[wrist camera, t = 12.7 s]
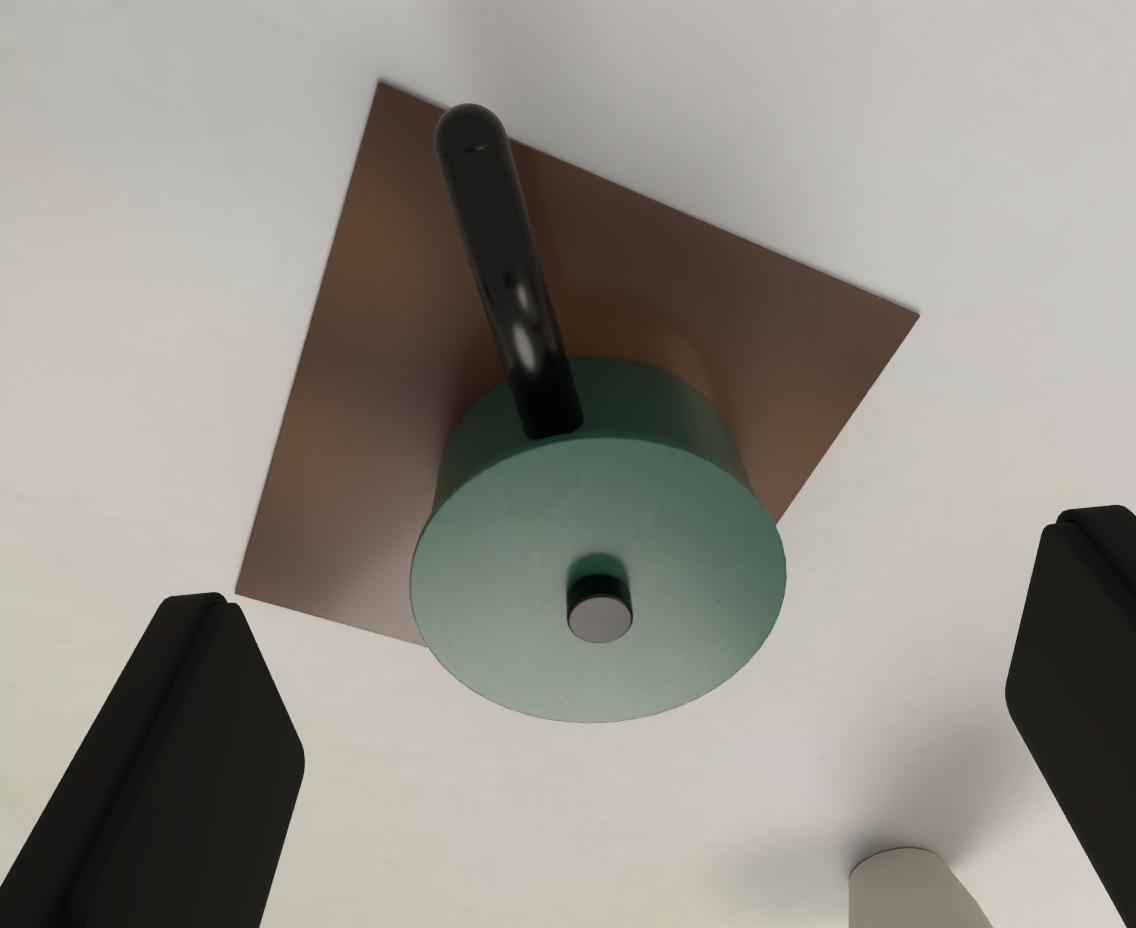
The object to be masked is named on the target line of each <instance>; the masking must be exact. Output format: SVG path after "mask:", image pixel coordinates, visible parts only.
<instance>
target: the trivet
mask: <svg viewBox="0 0 1136 928" xmlns="http://www.w3.org/2000/svg"><path fill="white" fill-rule="evenodd" d="M445 112H446V110H444V109H442V108H440V107H437V106H435V105H433V104H430V103H428V102H426V101H423V100H421V99H419V98H416V97H414V96H412V95H409V94H407V93H405V92H402V91H400V90H398V89H395V88H393V87H391V86H388V85H386V84H384V83H382V82H379V83H378V87H377V90H376V94H375V97H374V101H373V104H372V108H371V111H370V115H369V119H368V122H367V126H366V129H365V133H364V136H363V140H362V143H361V147H360V151H359V154H358V158H357V161H356V165H355V168H354V172H353V175H352V179H351V183H350V186H349V190H348V193H347V197H346V200H345V204H344V207H343V211H342V215H341V218H340V222H339V225H338V229H337V232H336V236H335V239H334V243H333V246H332V250H331V254H330V257H329V261H328V264H327V268H326V271H325V275H324V278H323V282H322V286H321V289H320V293H319V296H318V300H317V303H316V307H315V310H314V314H313V318H312V321H311V325H310V328H309V332H308V335H307V339H306V342H305V346H304V350H303V353H302V357H301V360H300V364H299V367H298V371H297V374H296V378H295V381H294V385H293V389H292V392H291V396H290V399H289V403H288V406H287V410H286V413H285V417H284V421H283V424H282V428H281V431H280V435H279V438H278V442H277V445H276V449H275V453H274V456H273V460H272V463H271V467H270V470H269V474H268V477H267V481H266V485H265V488H264V492H263V495H262V499H261V502H260V506H259V509H258V513H257V516H256V520H255V524H254V527H253V531H252V534H251V538H250V541H249V545H248V548H247V552H246V556H245V559H244V563H243V566H242V570H241V573H240V577H239V580H238V584H237V588H236V591H235V594H237V595H241V596H244V597H248V598H251V599H255V600H259V601H262V602H266V603H270V604H273V605H277V606H280V607H284V608H288V609H291V610H295V611H299V612H302V613H306V614H309V615H313V616H317V617H320V618H324V619H327V620H331V621H335V622H338V623H342V624H346V625H349V626H353V627H356V628H360V629H364V630H367V631H371V632H374V633H378V634H382V635H385V636H389V637H393V638H396V639H400V640H403V641H407V642H411V643H414V644H418V645H421V646H425V647H428V646H427V644H426V642H425V641H424V639H423V637H422V635H421V634H420V631H419V629H418V626H417V623H416V621H415V618H414V615H413V611H412V606H411V600H410V582H409V578H410V571H411V565H412V558H413V553H414V550H415V547H416V544H417V541H418V538H419V535H420V533H421V531H422V529H423V527H424V525H425V523H426V521H427V520H428V518H429V516H430V514H431V511H432V506H433V500H434V495H435V490H436V484H437V479H438V473H439V468H440V463H441V459H442V456H443V453H444V450H445V447H446V444H447V442H448V440H449V438H450V436H451V434H452V432H453V430H454V428H455V427H456V426H457V424H458V423H459V421H460V420H461V419H462V417H463V416H464V415H465V413H466V412H467V411H468V410H469V409H470V408H471V407H472V406H473V405H474V404H475V403H476V402H477V401H478V400H479V399H480V398H481V397H482V396H484V395H485V394H486V393H488V392H489V391H490V390H491V389H493V388H494V387H495V386H497V385H499V384H500V383H502V382H504V381H505V380H507V378H506V375H505V372H504V369H503V366H502V363H501V360H500V357H499V353H498V350H497V347H496V344H495V341H494V338H493V335H492V332H491V329H490V326H489V323H488V319H487V316H486V313H485V310H484V307H483V304H482V301H481V298H480V295H479V292H478V288H477V285H476V282H475V279H474V276H473V273H472V270H471V267H470V264H469V261H468V258H467V254H466V251H465V248H464V245H463V242H462V239H461V236H460V233H459V230H458V227H457V223H456V220H455V217H454V214H453V211H452V208H451V205H450V202H449V199H448V196H447V193H446V189H445V186H444V183H443V180H442V177H441V174H440V171H439V168H438V165H437V162H436V158H435V155H434V151H433V141H432V139H433V133H434V129H435V126H436V124H437V122H438V120H439V119H440V117H441V116H442V115H443V114H444V113H445ZM507 138H508V142H509V145H510V149H511V153H512V156H513V160H514V163H515V167H516V171H517V174H518V178H519V182H520V185H521V189H522V193H523V196H524V200H525V204H526V207H527V211H528V214H529V218H530V222H531V225H532V229H533V233H534V236H535V240H536V244H537V247H538V251H539V255H540V258H541V262H542V265H543V269H544V273H545V276H546V280H547V284H548V287H549V291H550V295H551V298H552V302H553V306H554V309H555V313H556V316H557V320H558V324H559V327H560V331H561V335H562V338H563V342H564V346H565V349H566V353H567V357H568V359H571V358H584V357H605V358H618V359H624V360H629V361H634V362H639V363H642V364H645V365H648V366H652V367H655V368H658V369H660V370H662V371H664V372H667V373H669V374H671V375H673V376H675V377H677V378H679V379H680V380H682V381H683V382H685V383H687V384H688V385H690V386H691V387H693V388H694V389H695V390H697V391H698V392H699V393H700V394H701V395H702V396H704V397H705V398H706V399H707V400H708V401H709V402H710V403H711V404H712V405H713V407H714V408H715V409H716V410H717V411H718V412H719V414H720V415H721V416H722V418H723V420H724V421H725V423H726V424H727V426H728V428H729V429H730V431H731V434H732V436H733V438H734V441H735V443H736V445H737V448H738V451H739V454H740V457H741V459H742V462H743V465H744V468H745V470H746V473H747V476H748V479H749V482H750V484H751V487H752V490H753V491H754V492H755V493H756V494H757V495H758V496H759V497H760V499H761V500H762V502H763V503H764V505H765V507H766V508H767V510H768V511H769V513H770V514H771V516H772V518H773V521H774V523H775V526H776V524H777V523H778V521H779V520H780V518H781V517H782V515H783V514H784V513H785V511H786V510H787V508H788V507H789V505H790V504H791V502H792V501H793V500H794V498H795V497H796V495H797V494H798V492H799V491H800V489H801V488H802V487H803V485H804V484H805V482H806V481H807V479H808V478H809V476H810V475H811V473H812V472H813V471H814V469H815V468H816V466H817V465H818V463H819V462H820V460H821V459H822V458H823V456H824V455H825V453H826V452H827V450H828V449H829V447H830V446H831V445H832V443H833V442H834V440H835V439H836V437H837V436H838V434H839V433H840V431H841V430H842V429H843V427H844V426H845V424H846V423H847V421H848V420H849V418H850V417H851V416H852V414H853V413H854V411H855V410H856V408H857V407H858V405H859V404H860V403H861V401H862V400H863V398H864V397H865V395H866V394H867V392H868V391H869V389H870V388H871V387H872V385H873V384H874V382H875V381H876V379H877V378H878V376H879V375H880V374H881V372H882V371H883V369H884V368H885V366H886V365H887V363H888V362H889V361H890V359H891V358H892V356H893V355H894V353H895V352H896V350H897V349H898V347H899V346H900V345H901V343H902V342H903V340H904V339H905V337H906V336H907V334H908V333H909V332H910V330H911V329H912V327H913V326H914V324H915V323H916V321H917V320H918V319H919V317H920V315H919V314H917V313H915V312H913V311H910V310H908V309H906V308H904V307H901V306H899V305H897V304H894V303H892V302H890V301H887V300H885V299H883V298H880V297H878V296H876V295H873V294H871V293H869V292H866V291H864V290H862V289H859V288H857V287H855V286H852V285H850V284H848V283H846V282H843V281H841V280H839V279H836V278H834V277H832V276H829V275H827V274H825V273H822V272H820V271H818V270H815V269H813V268H811V267H808V266H806V265H804V264H801V263H799V262H797V261H794V260H792V259H790V258H788V257H785V256H783V255H781V254H778V253H776V252H774V251H771V250H769V249H767V248H764V247H762V246H760V245H757V244H755V243H753V242H750V241H748V240H746V239H743V238H741V237H739V236H736V235H734V234H732V233H730V232H727V231H725V230H723V229H720V228H718V227H716V226H713V225H711V224H709V223H706V222H704V221H702V220H699V219H697V218H695V217H692V216H690V215H688V214H685V213H683V212H681V211H678V210H676V209H674V208H672V207H669V206H667V205H665V204H662V203H660V202H658V201H655V200H653V199H651V198H648V197H646V196H644V195H641V194H639V193H637V192H634V191H632V190H630V189H627V188H625V187H623V186H620V185H618V184H616V183H614V182H611V181H609V180H607V179H604V178H602V177H600V176H597V175H595V174H593V173H590V172H588V171H586V170H583V169H581V168H579V167H576V166H574V165H572V164H569V163H567V162H565V161H562V160H560V159H558V158H556V157H553V156H551V155H549V154H546V153H544V152H542V151H539V150H537V149H535V148H532V147H530V146H528V145H525V144H523V143H521V142H518V141H516V140H514V139H511V138H509V137H507Z"/></svg>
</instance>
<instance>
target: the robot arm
mask: <svg viewBox="0 0 1136 928" xmlns="http://www.w3.org/2000/svg"><path fill="white" fill-rule="evenodd" d="M1005 698H1006V703H1007V707H1008V710H1009V713H1010V716H1011V718H1012V720H1013V722H1014V724H1015V725H1016V727H1017V729H1018V731H1019V733H1020V734H1021V736H1022V738H1023V740H1024V742H1025V743H1026V745H1027V747H1028V749H1029V751H1030V753H1031V754H1032V756H1033V758H1034V760H1035V762H1036V763H1037V765H1038V767H1039V769H1040V771H1041V773H1042V774H1043V776H1044V778H1045V780H1046V782H1047V783H1048V785H1049V787H1050V789H1051V791H1052V793H1053V794H1054V796H1055V798H1056V800H1057V802H1058V803H1059V805H1060V807H1061V809H1062V811H1063V813H1064V814H1065V816H1066V818H1067V820H1068V822H1069V823H1070V825H1071V827H1072V829H1073V831H1074V833H1075V834H1076V836H1077V838H1078V840H1079V842H1080V843H1081V845H1082V847H1083V849H1084V851H1085V853H1086V854H1087V856H1088V858H1089V860H1090V862H1091V863H1092V865H1093V867H1094V869H1095V871H1096V873H1097V874H1098V876H1099V878H1100V880H1101V882H1102V883H1103V885H1104V887H1105V889H1106V891H1107V893H1108V894H1109V896H1110V898H1111V900H1112V902H1113V903H1114V905H1115V907H1116V909H1117V911H1118V912H1119V914H1120V916H1121V918H1122V920H1123V922H1124V923H1125V925H1126V927H1127V928H1136V516H1135V515H1134V514H1133V513H1132V512H1131V511H1130V510H1128V509H1127V508H1126V507H1124V506H1120V505H1110V506H1100V507H1090V508H1079V509H1069V510H1065V511H1063V512H1062V513H1061V514H1060V515H1059V516H1058V519H1057V521H1056V524H1050V525H1047V526H1046V527H1045V528H1044V529H1043V532H1042V535H1041V539H1040V543H1039V547H1038V551H1037V555H1036V560H1035V564H1034V568H1033V572H1032V576H1031V581H1030V585H1029V589H1028V593H1027V597H1026V602H1025V606H1024V610H1023V614H1022V618H1021V623H1020V627H1019V631H1018V635H1017V639H1016V643H1015V648H1014V652H1013V656H1012V660H1011V664H1010V669H1009V673H1008V677H1007V681H1006V687H1005ZM304 767H305V756H304V750H303V747H302V744H301V741H300V739H299V737H298V735H297V732H296V730H295V728H294V726H293V724H292V721H291V719H290V717H289V715H288V712H287V710H286V708H285V706H284V703H283V701H282V699H281V697H280V694H279V692H278V690H277V688H276V685H275V683H274V681H273V679H272V677H271V674H270V672H269V670H268V668H267V665H266V663H265V661H264V659H263V656H262V654H261V652H260V650H259V647H258V645H257V643H256V641H255V638H254V636H253V634H252V632H251V630H250V627H249V625H248V623H247V621H246V618H245V616H244V614H243V612H242V610H241V608H240V606H239V605H237V604H236V603H227V601H226V599H225V598H224V596H222V595H221V594H220V593H216V592H211V593H200V594H190V595H180V596H170V597H168V598H166V599H164V601H163V602H162V603H161V605H160V606H159V608H158V609H157V611H156V613H155V615H154V616H153V618H152V620H151V622H150V623H149V625H148V627H147V629H146V631H145V632H144V634H143V636H142V638H141V639H140V641H139V643H138V645H137V646H136V648H135V650H134V652H133V653H132V655H131V657H130V659H129V661H128V662H127V664H126V666H125V668H124V669H123V671H122V673H121V675H120V676H119V678H118V680H117V682H116V684H115V685H114V687H113V689H112V691H111V692H110V694H109V696H108V698H107V699H106V701H105V703H104V705H103V707H102V708H101V710H100V712H99V714H98V715H97V717H96V719H95V721H94V722H93V724H92V726H91V728H90V729H89V731H88V733H87V735H86V736H85V738H84V740H83V742H82V743H81V745H80V747H79V749H78V751H77V752H76V754H75V756H74V758H73V759H72V761H71V763H70V765H69V766H68V768H67V770H66V772H65V773H64V775H63V777H62V779H61V781H60V782H59V784H58V786H57V788H56V789H55V791H54V793H53V795H52V796H51V798H50V800H49V802H48V804H47V805H46V807H45V809H44V811H43V812H42V814H41V816H40V818H39V819H38V821H37V823H36V825H35V826H34V828H33V830H32V832H31V834H30V835H29V837H28V839H27V841H26V842H25V844H24V846H23V848H22V849H21V851H20V853H19V855H18V857H17V858H16V860H15V862H14V864H13V865H12V867H11V869H10V871H9V872H8V874H7V876H6V878H5V880H4V881H3V883H2V885H1V887H0V928H259V926H260V923H261V919H262V916H263V913H264V909H265V906H266V902H267V899H268V895H269V892H270V889H271V885H272V882H273V878H274V875H275V871H276V868H277V865H278V861H279V858H280V854H281V851H282V848H283V844H284V841H285V837H286V834H287V830H288V827H289V824H290V820H291V817H292V813H293V810H294V806H295V803H296V800H297V796H298V793H299V789H300V786H301V783H302V779H303V775H304Z"/></svg>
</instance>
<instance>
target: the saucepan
mask: <svg viewBox="0 0 1136 928" xmlns="http://www.w3.org/2000/svg"><path fill="white" fill-rule="evenodd" d="M432 141H433V151H434V155H435V158H436V162H437V165H438V168H439V171H440V174H441V177H442V180H443V183H444V186H445V189H446V193H447V196H448V199H449V202H450V205H451V208H452V211H453V214H454V217H455V220H456V223H457V227H458V230H459V233H460V236H461V239H462V242H463V245H464V248H465V251H466V254H467V258H468V261H469V264H470V267H471V270H472V273H473V276H474V279H475V282H476V285H477V288H478V292H479V295H480V298H481V301H482V304H483V307H484V310H485V313H486V316H487V319H488V323H489V326H490V329H491V332H492V335H493V338H494V341H495V344H496V347H497V350H498V353H499V357H500V360H501V363H502V366H503V369H504V372H505V375H506V378H507V380H505V381H504V382H502V383H500V384H499V385H497V386H495V387H494V388H493V389H491V390H490V391H489V392H488V393H486V394H485V395H484V396H482V397H481V398H480V399H479V400H478V401H477V402H476V403H475V404H474V405H473V406H472V407H471V408H470V409H469V410H468V411H467V412H466V413H465V415H464V416H463V417H462V419H461V420H460V421H459V423H458V424H457V426H456V427H455V428H454V430H453V432H452V434H451V436H450V438H449V440H448V442H447V444H446V447H445V450H444V453H443V456H442V459H441V463H440V468H439V473H438V479H437V484H436V490H435V495H434V500H433V506H432V511H431V514H430V516H429V518H428V520H427V521H426V523H425V525H424V527H423V529H422V531H421V533H420V535H419V538H418V541H417V544H416V547H415V550H414V553H413V558H412V565H411V571H410V578H409V582H410V600H411V606H412V611H413V615H414V618H415V621H416V623H417V626H418V629H419V631H420V634H421V635H422V637H423V639H424V641H425V642H426V644H427V646H428V648H429V649H430V651H431V652H432V653H433V654H434V656H435V657H436V658H437V660H438V661H439V662H440V663H441V665H442V666H443V667H445V668H446V669H447V670H448V671H449V672H450V673H451V674H452V675H453V676H454V677H455V678H456V679H457V680H459V681H460V682H461V683H463V684H464V685H466V686H467V687H468V688H470V689H471V690H472V691H474V692H476V693H478V694H479V695H481V696H483V697H485V698H486V699H488V700H490V701H492V702H495V703H497V704H499V705H501V706H504V707H506V708H508V709H511V710H514V711H518V712H521V713H524V714H527V715H531V716H535V717H540V718H544V719H549V720H556V721H564V722H577V723H603V722H617V721H624V720H631V719H637V718H642V717H646V716H650V715H655V714H658V713H661V712H664V711H667V710H670V709H674V708H677V707H679V706H681V705H684V704H686V703H688V702H690V701H693V700H695V699H697V698H699V697H701V696H703V695H704V694H706V693H708V692H710V691H711V690H713V689H715V688H716V687H718V686H719V685H721V684H722V683H723V682H725V681H726V680H728V679H729V678H731V677H732V676H733V675H734V674H735V673H736V672H738V671H739V670H740V669H741V668H742V667H743V666H744V665H745V664H746V663H747V662H748V661H749V660H750V659H751V658H752V657H753V656H754V654H755V653H756V652H757V651H758V650H759V649H760V647H761V646H762V644H763V643H764V641H765V640H766V638H767V637H768V635H769V634H770V632H771V630H772V628H773V626H774V624H775V622H776V620H777V618H778V616H779V612H780V609H781V606H782V602H783V599H784V594H785V586H786V578H787V576H786V558H785V554H784V550H783V545H782V541H781V538H780V535H779V533H778V530H777V528H776V526H775V523H774V521H773V518H772V516H771V514H770V513H769V511H768V510H767V508H766V507H765V505H764V503H763V502H762V500H761V499H760V497H759V496H758V495H757V494H756V493H755V492H754V491H753V490H752V487H751V484H750V482H749V479H748V476H747V473H746V470H745V468H744V465H743V462H742V459H741V457H740V454H739V451H738V448H737V445H736V443H735V441H734V438H733V436H732V434H731V431H730V429H729V428H728V426H727V424H726V423H725V421H724V420H723V418H722V416H721V415H720V414H719V412H718V411H717V410H716V409H715V408H714V407H713V405H712V404H711V403H710V402H709V401H708V400H707V399H706V398H705V397H704V396H702V395H701V394H700V393H699V392H698V391H697V390H695V389H694V388H693V387H691V386H690V385H688V384H687V383H685V382H683V381H682V380H680V379H679V378H677V377H675V376H673V375H671V374H669V373H667V372H664V371H662V370H660V369H658V368H655V367H652V366H648V365H645V364H642V363H639V362H634V361H629V360H624V359H618V358H605V357H584V358H571V359H568V357H567V353H566V349H565V346H564V342H563V338H562V335H561V331H560V327H559V324H558V320H557V316H556V313H555V309H554V306H553V302H552V298H551V295H550V291H549V287H548V284H547V280H546V276H545V273H544V269H543V265H542V262H541V258H540V255H539V251H538V247H537V244H536V240H535V236H534V233H533V229H532V225H531V222H530V218H529V214H528V211H527V207H526V204H525V200H524V196H523V193H522V189H521V185H520V182H519V178H518V174H517V171H516V167H515V163H514V160H513V156H512V153H511V149H510V145H509V142H508V138H507V134H506V132H505V129H504V126H503V125H502V123H501V121H500V120H499V118H498V117H497V116H496V115H495V114H494V113H493V112H491V111H490V110H489V109H487V108H485V107H483V106H481V105H477V104H472V103H470V104H460V105H456V106H454V107H452V108H451V109H449V110H447V111H446V112H445V113H444V114H443V115H442V116H441V117H440V119H439V120H438V122H437V124H436V126H435V129H434V133H433V139H432Z"/></svg>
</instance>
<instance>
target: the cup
mask: <svg viewBox="0 0 1136 928" xmlns="http://www.w3.org/2000/svg"><path fill="white" fill-rule="evenodd" d="M849 928H993V927H992V925H991V924H990V922H989V921H988V919H987V917H986V916H985V914H984V913H983V911H982V910H981V908H980V906H979V905H978V903H977V902H976V901H975V899H974V898H973V897H972V896H971V894H970V893H969V892H968V891H967V890H966V888H965V887H964V886H963V885H962V884H961V882H960V881H959V880H958V879H957V877H956V876H955V875H954V874H953V873H952V871H951V870H950V869H949V868H948V866H947V865H946V864H945V863H944V862H943V860H942V859H941V858H940V857H939V856H937V855H936V854H934V853H932V852H930V851H927V850H923V849H916V848H902V849H894V850H889V851H885V852H882V853H879V854H876V855H874V856H872V857H870V858H868V859H866V860H865V861H863V862H862V863H860V864H859V865H858V866H857V867H856V868H855V869H854V870H853V872H852V873H851V875H850V878H849Z"/></svg>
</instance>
